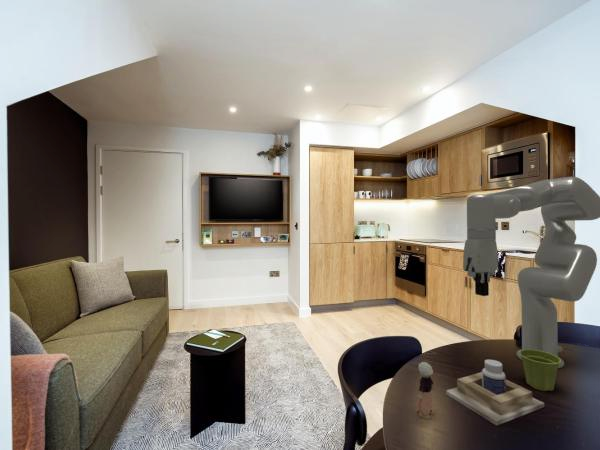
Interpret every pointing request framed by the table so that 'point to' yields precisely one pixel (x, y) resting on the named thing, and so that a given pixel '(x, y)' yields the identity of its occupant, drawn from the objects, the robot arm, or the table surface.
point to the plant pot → (540, 368)
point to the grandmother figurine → (425, 391)
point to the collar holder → (494, 399)
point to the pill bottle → (493, 377)
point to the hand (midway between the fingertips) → (481, 294)
